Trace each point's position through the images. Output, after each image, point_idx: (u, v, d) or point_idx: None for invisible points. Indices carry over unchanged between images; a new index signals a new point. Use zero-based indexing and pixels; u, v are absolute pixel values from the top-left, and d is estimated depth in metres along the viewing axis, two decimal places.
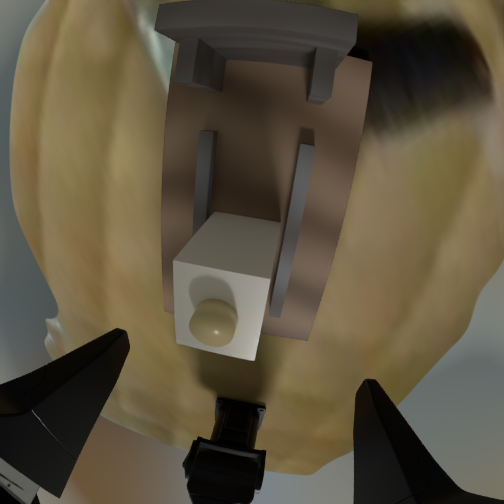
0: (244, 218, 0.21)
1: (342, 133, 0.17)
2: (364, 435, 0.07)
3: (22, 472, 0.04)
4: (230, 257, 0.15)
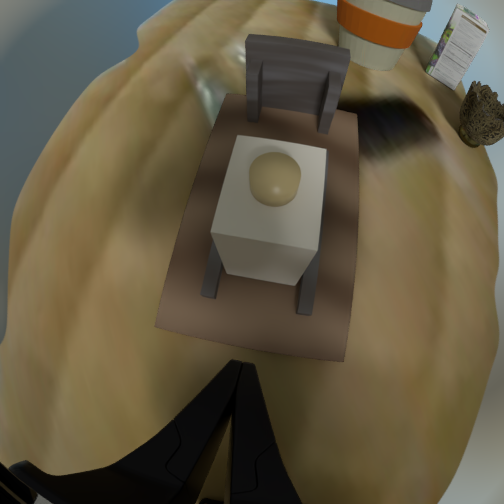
0: None
1: (345, 151, 0.24)
2: (232, 421, 0.08)
3: None
4: None
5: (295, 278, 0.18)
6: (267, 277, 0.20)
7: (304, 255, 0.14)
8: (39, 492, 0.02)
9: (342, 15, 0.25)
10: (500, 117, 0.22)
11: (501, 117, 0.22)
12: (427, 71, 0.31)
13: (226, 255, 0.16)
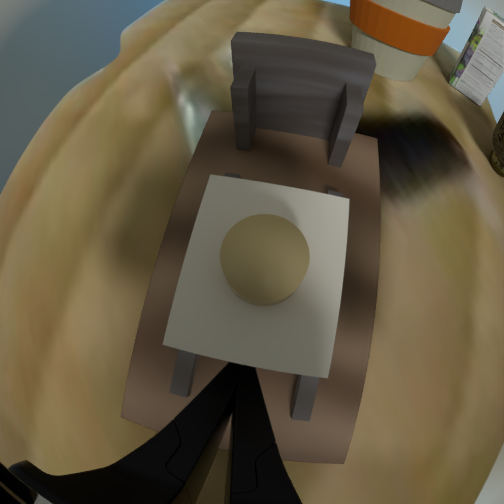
0: None
1: (363, 191, 0.19)
2: (232, 421, 0.08)
3: None
4: None
5: None
6: None
7: None
8: (39, 492, 0.02)
9: (356, 13, 0.20)
10: None
11: None
12: (451, 83, 0.26)
13: None
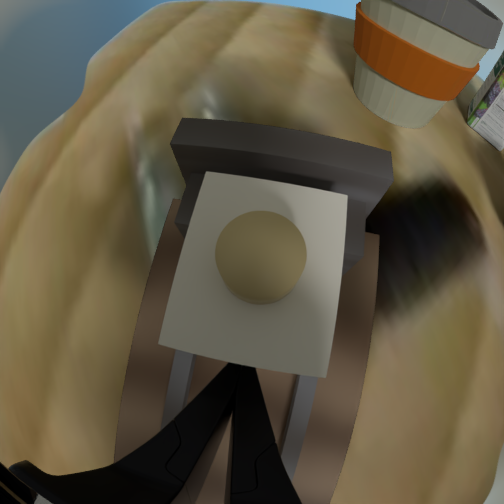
0: None
1: (352, 319, 0.16)
2: (232, 421, 0.08)
3: None
4: None
5: None
6: None
7: None
8: (39, 492, 0.02)
9: (363, 43, 0.17)
10: None
11: None
12: (470, 123, 0.22)
13: None
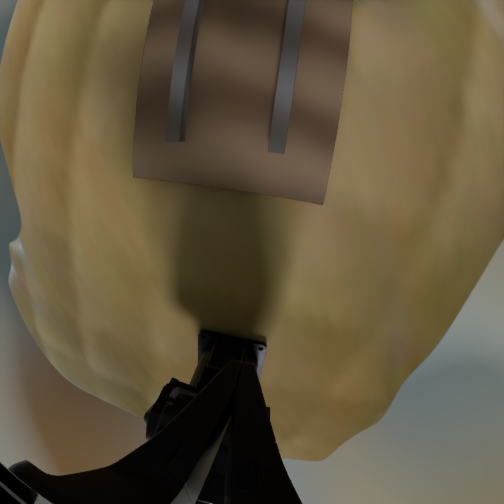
0: None
1: None
2: (232, 421, 0.08)
3: None
4: None
5: None
6: None
7: None
8: (39, 492, 0.02)
9: None
10: None
11: None
12: None
13: None
